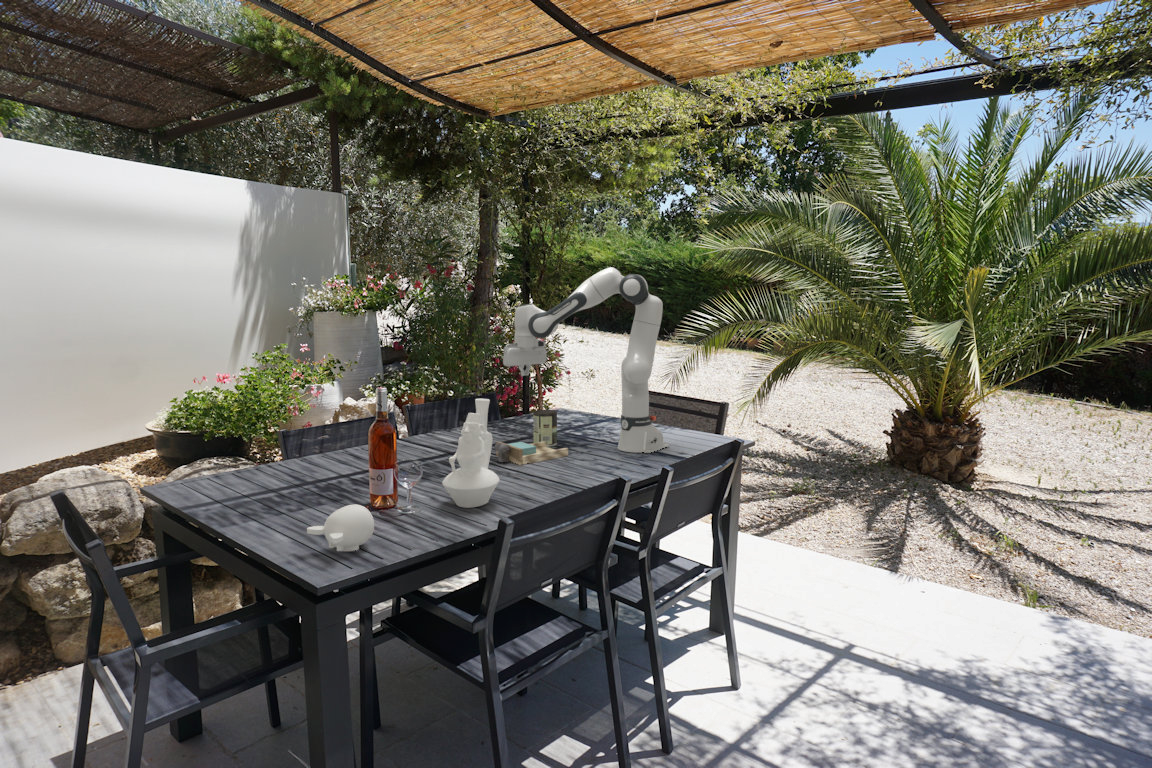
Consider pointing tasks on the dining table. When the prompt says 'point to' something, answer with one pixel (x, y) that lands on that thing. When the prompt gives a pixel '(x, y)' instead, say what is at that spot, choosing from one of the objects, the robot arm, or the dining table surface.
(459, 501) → the white sculpted vase
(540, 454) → the bay
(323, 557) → the dining table surface
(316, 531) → the piggy bank
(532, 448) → the teal rectangular box
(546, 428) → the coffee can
